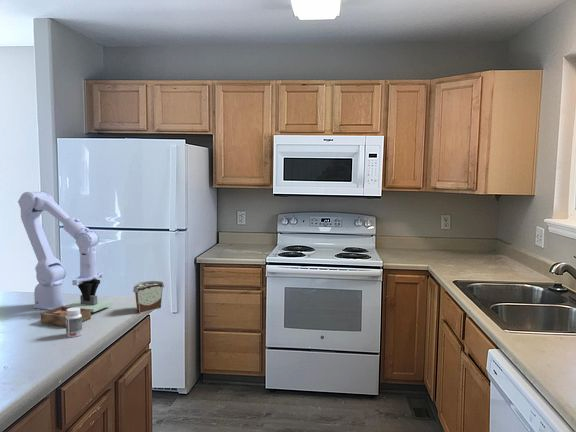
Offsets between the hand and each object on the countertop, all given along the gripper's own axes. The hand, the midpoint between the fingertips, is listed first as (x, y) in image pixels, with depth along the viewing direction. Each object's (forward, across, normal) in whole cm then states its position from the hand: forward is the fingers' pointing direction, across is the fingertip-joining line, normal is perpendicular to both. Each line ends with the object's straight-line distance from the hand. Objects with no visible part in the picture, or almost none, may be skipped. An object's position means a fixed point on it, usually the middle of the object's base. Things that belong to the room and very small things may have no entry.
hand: (89, 300), depth 179 cm
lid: (+2, 0, 0) cm, 2 cm away
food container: (+4, +8, -19) cm, 21 cm away
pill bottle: (+4, -24, -14) cm, 28 cm away
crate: (+4, -14, -2) cm, 15 cm away
